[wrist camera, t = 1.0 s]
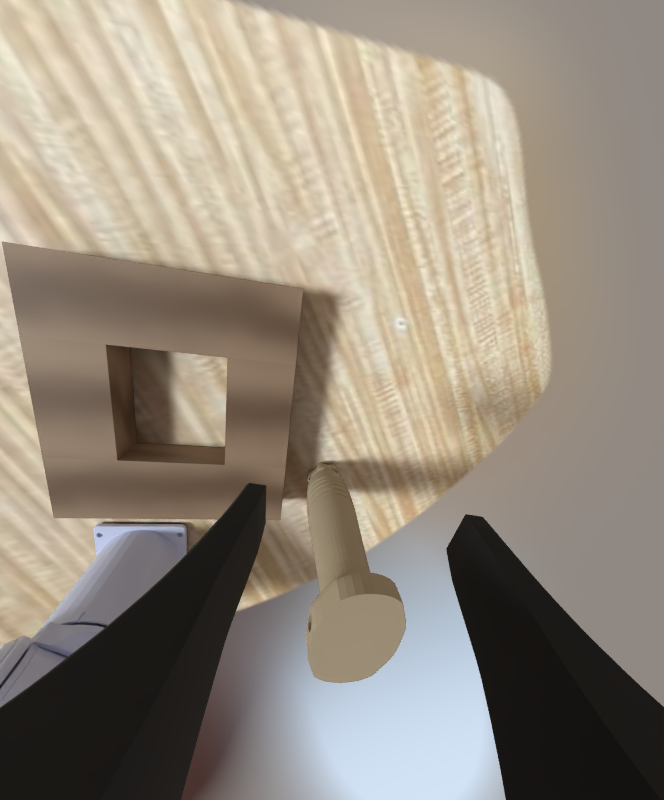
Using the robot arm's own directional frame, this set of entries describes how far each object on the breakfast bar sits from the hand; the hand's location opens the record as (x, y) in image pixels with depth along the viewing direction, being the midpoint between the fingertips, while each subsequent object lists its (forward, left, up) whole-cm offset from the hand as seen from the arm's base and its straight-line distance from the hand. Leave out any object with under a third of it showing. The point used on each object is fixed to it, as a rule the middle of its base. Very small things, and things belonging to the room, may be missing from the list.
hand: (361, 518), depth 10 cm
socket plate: (-2, +11, -16) cm, 20 cm away
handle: (-9, -2, -16) cm, 19 cm away
